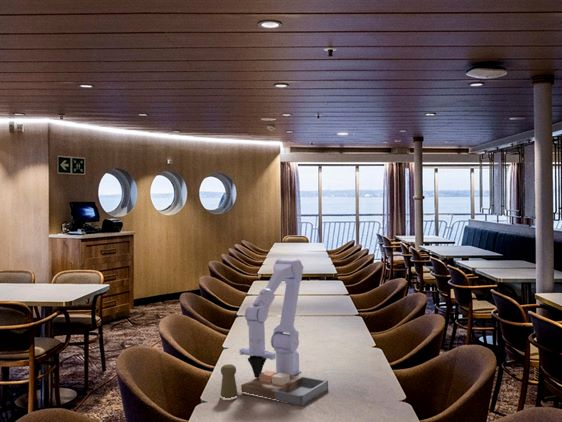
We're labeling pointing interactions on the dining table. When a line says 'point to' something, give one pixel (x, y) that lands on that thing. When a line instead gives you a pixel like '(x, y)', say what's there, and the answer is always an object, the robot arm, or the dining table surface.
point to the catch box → (303, 391)
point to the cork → (228, 381)
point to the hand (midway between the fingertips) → (257, 376)
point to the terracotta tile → (267, 376)
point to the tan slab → (270, 387)
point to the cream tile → (280, 378)
